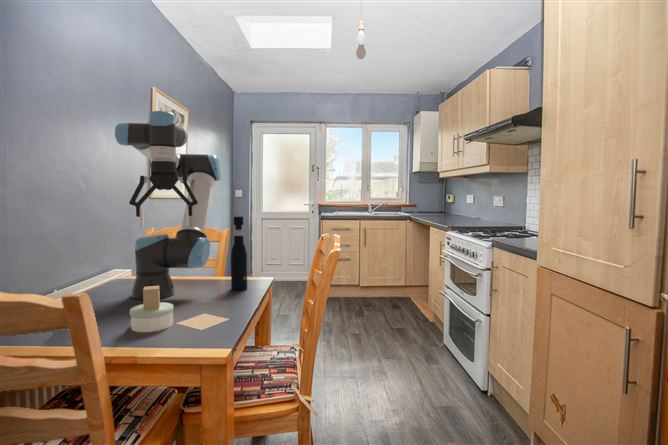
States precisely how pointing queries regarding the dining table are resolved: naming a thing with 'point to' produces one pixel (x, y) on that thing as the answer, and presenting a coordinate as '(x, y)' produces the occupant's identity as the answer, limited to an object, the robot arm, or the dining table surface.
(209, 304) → the dining table surface
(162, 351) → the dining table surface
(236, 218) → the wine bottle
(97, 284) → the dining table surface
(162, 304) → the lid
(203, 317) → the mat
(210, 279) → the dining table surface
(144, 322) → the bowl
